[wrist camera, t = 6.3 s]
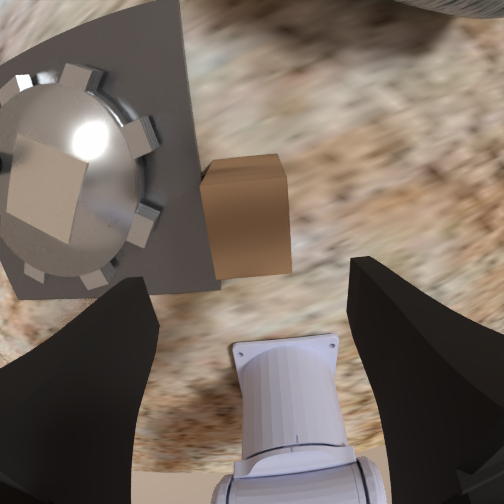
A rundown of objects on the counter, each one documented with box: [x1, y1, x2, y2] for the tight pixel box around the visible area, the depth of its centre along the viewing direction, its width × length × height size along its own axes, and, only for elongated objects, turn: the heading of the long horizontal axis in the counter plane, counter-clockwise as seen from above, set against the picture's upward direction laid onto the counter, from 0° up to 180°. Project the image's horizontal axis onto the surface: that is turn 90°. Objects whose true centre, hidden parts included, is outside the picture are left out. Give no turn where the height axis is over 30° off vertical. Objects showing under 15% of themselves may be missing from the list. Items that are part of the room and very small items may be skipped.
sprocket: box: [0, 63, 160, 290], centre depth 14 cm, size 14×14×6 cm
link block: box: [200, 154, 292, 280], centre depth 16 cm, size 4×4×5 cm
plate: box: [0, 0, 221, 300], centre depth 17 cm, size 18×18×1 cm
